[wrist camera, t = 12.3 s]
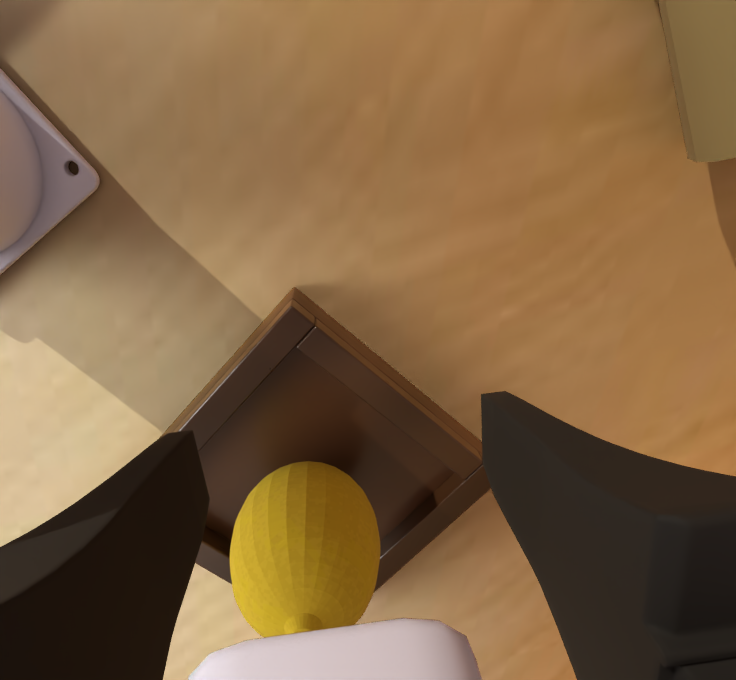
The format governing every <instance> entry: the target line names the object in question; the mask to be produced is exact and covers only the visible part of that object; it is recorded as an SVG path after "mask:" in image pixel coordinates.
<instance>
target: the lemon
mask: <svg viewBox="0 0 736 680" xmlns="http://www.w3.org/2000/svg"><path fill="white" fill-rule="evenodd" d="M379 562H380V537H379V531H378V526H377V520H376V516H375V513H374V510H373V508H372V506H371V504H370V502H369V500H368V498H367V496H366V494H365V493H364V491H363V489H362V488H361V487H360V486H359V485H358V484H357V483H356V482H355V481H354V480H353V479H352V478H351V477H350V476H349V475H348V474H346V473H344V472H343V471H341V470H340V469H338V468H336V467H334V466H331V465H328V464H325V463H321V462H311V461H305V462H296V463H292V464H289V465H286V466H283V467H280V468H279V469H277V470H275V471H274V472H272V473H270V474H269V475H267V476H266V477H264V478H263V479H262V480H261V481H260V482H259V483H258V485H257V486H256V487H255V488H254V489H253V490H252V491H251V492H250V494H249V495H248V497H247V499H246V500H245V502H244V504H243V506H242V508H241V510H240V512H239V514H238V516H237V519H236V521H235V525H234V529H233V535H232V540H231V547H230V572H231V580H232V587H233V592H234V597H235V599H236V602H237V605H238V607H239V609H240V611H241V612H242V614H243V616H244V618H245V619H246V621H247V622H248V623H249V624H250V625H251V626H252V628H253V629H254V630H255V631H256V632H257V633H259V634H260V635H261V636H263V637H264V638H265V637H272V636H279V635H286V634H293V633H300V632H307V631H314V630H321V629H328V628H336V627H343V626H350V625H355V623H356V622H357V621H358V620H359V619H360V618H361V616H362V615H363V613H364V612H365V610H366V608H367V606H368V604H369V602H370V600H371V597H372V595H373V592H374V589H375V585H376V581H377V575H378V568H379Z"/></svg>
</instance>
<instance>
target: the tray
mask: <svg viewBox="0 0 736 680" xmlns="http://www.w3.org/2000/svg"><path fill="white" fill-rule="evenodd" d="M188 430H193V433H194V437H195V441H196V445H197V449H198V453H199V457H200V461H201V465H202V469H203V473H204V477H205V481H206V485H207V489H208V493H209V497H210V501H209V507H208V514H207V520H206V525H205V531H204V536H203V539H202V542H201V545H200V549H199V552H198V555H197V558H196V561H195V563H196V564H198V565H200V566H201V567H203V568H205V569H207V570H208V571H210V572H212V573H213V574H215V575H217V576H219V577H220V578H222V579H224V580H225V581H227V582H229V583H231V584H232V580H231V572H230V547H231V540H232V535H233V529H234V525H235V521H236V519H237V516H238V514H239V512H240V510H241V508H242V506H243V504H244V502H245V500H246V499H247V497H248V495H249V494H250V492H251V491H252V490H253V489H254V488H255V487H256V486H257V485H258V483H259V482H260V481H261V480H262V479H263V478H264V477H266V476H267V475H269V474H270V473H272V472H274V471H275V470H277V469H279V468H280V467H283V466H286V465H289V464H292V463H296V462H305V461H311V462H321V463H325V464H328V465H331V466H334V467H336V468H338V469H340V470H341V471H343V472H344V473H346V474H348V475H349V476H350V477H351V478H352V479H353V480H354V481H355V482H356V483H357V484H358V485H359V486H360V487H361V488H362V489H363V491H364V493H365V494H366V496H367V498H368V500H369V502H370V504H371V506H372V508H373V510H374V513H375V516H376V520H377V526H378V531H379V537H380V562H379V568H378V575H377V581H376V585H375V589H374V592H375V591H376V590H377V589H378V588H379V587H381V586H382V585H383V584H384V583H385V582H386V581H387V580H388V579H390V578H391V577H392V576H393V575H394V574H395V573H396V572H397V571H399V570H400V569H401V568H402V567H403V566H404V565H405V564H406V563H407V562H409V561H410V560H411V559H412V558H413V557H414V556H415V555H416V554H418V553H419V552H420V551H421V550H422V549H423V548H424V547H425V546H427V545H428V544H429V543H430V542H431V541H432V540H433V539H434V538H435V537H437V536H438V535H439V534H440V533H441V532H442V531H443V530H444V529H446V528H447V527H448V526H449V525H450V524H451V523H452V522H453V521H455V520H456V519H457V518H458V517H459V516H460V515H461V514H462V513H463V512H465V511H466V510H467V509H468V508H469V507H470V506H471V505H472V504H474V503H475V502H476V501H477V500H478V499H479V498H480V497H481V496H483V495H484V494H485V493H486V492H487V491H488V490H489V489H490V488H491V486H490V483H489V480H488V478H487V475H486V472H485V469H484V466H483V462H482V442H481V441H480V440H479V439H478V438H476V437H475V436H474V435H473V434H472V433H470V432H469V431H468V430H467V429H465V428H464V427H463V426H462V425H461V424H459V423H458V422H457V421H456V420H455V419H453V418H452V417H451V416H450V415H449V414H447V413H446V412H445V411H444V410H443V409H441V408H440V407H439V406H438V405H437V404H435V403H434V402H433V401H432V400H431V399H429V398H428V397H427V396H426V395H425V394H423V393H422V392H421V391H420V390H419V389H417V388H416V387H415V386H414V385H413V384H411V383H410V382H409V381H408V380H407V379H405V378H404V377H403V376H402V375H401V374H399V373H398V372H397V371H396V370H395V369H393V368H392V367H391V366H390V365H389V364H387V363H386V362H385V361H384V360H382V359H381V358H380V357H379V356H378V355H376V354H375V353H374V352H373V351H372V350H370V349H369V348H368V347H367V346H366V345H364V344H363V343H362V342H361V341H360V340H358V339H357V338H356V337H355V336H354V335H352V334H351V333H350V332H349V331H348V330H346V329H345V328H344V327H343V326H342V325H340V324H339V323H338V322H337V321H336V320H334V319H333V318H332V317H331V316H330V315H328V314H327V313H326V312H325V311H324V310H322V309H321V308H320V307H319V306H318V305H316V304H315V303H314V302H313V301H312V300H310V299H309V298H308V297H307V296H305V295H304V294H303V293H302V292H301V291H299V290H298V289H297V288H296V287H294V288H292V290H291V291H290V292H289V293H288V294H287V295H286V296H285V297H284V299H283V300H282V301H281V302H280V303H279V304H278V305H277V306H276V308H275V309H274V310H273V311H272V312H271V313H270V314H269V315H268V317H267V318H266V319H265V320H264V321H263V322H262V323H261V324H260V326H259V327H258V328H257V329H256V330H255V331H254V332H253V333H252V335H251V336H250V337H249V338H248V339H247V340H246V341H245V342H244V344H243V345H242V346H241V347H240V348H239V349H238V350H237V351H236V353H235V354H234V355H233V356H232V357H231V358H230V359H229V360H228V362H227V363H226V364H225V365H224V366H223V367H222V368H221V369H220V371H219V372H218V373H217V374H216V375H215V376H214V377H213V378H212V380H211V381H210V382H209V383H208V384H207V385H206V386H205V387H204V389H203V390H202V391H201V392H200V393H199V394H198V395H197V396H196V398H195V399H194V400H193V401H192V402H191V403H190V404H189V405H188V407H187V408H186V409H185V410H184V411H183V412H182V413H181V414H180V416H179V417H178V418H177V419H176V420H175V421H174V422H173V423H172V425H171V426H170V427H169V428H168V429H167V430H166V431H165V432H164V434H163V435H162V436H164V435H166V434H167V433H172V432H180V431H188ZM162 436H161V437H162ZM161 437H160V438H161ZM160 438H159V439H160ZM374 592H373V593H374Z"/></svg>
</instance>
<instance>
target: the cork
mask: <svg viewBox="0 0 736 680" xmlns="http://www.w3.org/2000/svg"><path fill="white" fill-rule="evenodd" d="M658 2H659V7H660V13H661V18H662V23H663V29H664V34H665V39H666V45H667V50H668V55H669V61H670V66H671V72H672V77H673V82H674V88H675V93H676V98H677V104H678V109H679V114H680V120H681V125H682V130H683V136H684V141H685V146H686V152H687V157H688V159H690V160H693V161H695V162H717V161H722V160H727V159H732V158H736V0H658Z"/></svg>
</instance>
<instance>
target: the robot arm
mask: <svg viewBox="0 0 736 680" xmlns="http://www.w3.org/2000/svg"><path fill="white" fill-rule="evenodd" d="M71 161H73V162H75V163H76V164H77V165H78V167H79V172H78V174H77V175H74V174H73V173H71V172H70V170H69V166H68V165H69V163H70V162H71ZM99 183H100V179H99V175H98V174H97V172H96V171H95V169H94V168H93V167H92V166H91V165H90V164H89V163H88V162H87V161H86V160H85V159H84V158H83V157H82V156H81V154H80V153H79V152H78V151H77V150H76V149H75V148H74V147H73V146H72V145H71V144H70V143H69V142H68V140H67V139H66V138H65V137H64V136H63V135H62V134H61V133H60V132H59V131H58V130H57V129H56V128H55V126H54V125H53V124H52V123H51V122H50V121H49V120H48V119H47V118H46V117H45V116H44V115H43V114H42V113H41V111H40V110H39V109H38V108H37V107H36V106H35V105H34V104H33V103H32V102H31V101H30V100H29V99H28V97H27V96H26V95H25V94H24V93H23V92H22V91H21V90H20V89H19V88H18V87H17V86H16V85H15V84H14V82H13V81H12V80H11V79H10V78H9V77H8V76H7V75H6V74H5V73H4V72H3V71H2V70H1V68H0V275H1V274H2V273H3V272H4V271H5V270H6V269H8V268H9V267H10V266H11V265H12V264H13V263H14V262H15V261H17V260H18V259H19V258H20V257H21V256H22V255H23V254H24V253H26V252H27V251H28V250H29V249H30V248H31V247H32V246H33V245H35V244H36V243H37V242H38V241H39V240H40V239H41V238H42V237H44V236H45V235H46V234H47V233H48V232H49V231H50V230H51V229H53V228H54V227H55V226H56V225H57V224H58V223H59V222H60V221H62V220H63V219H64V218H65V217H66V216H67V215H68V214H69V213H71V212H72V211H73V210H74V209H75V208H76V207H77V206H78V205H80V204H81V203H82V202H83V201H84V200H85V199H86V198H88V197H89V196H90V195H91V194H92V193H93V192H94V191H95V190H96V189H97V188H98V186H99ZM481 410H482V462H483V466H484V469H485V472H486V475H487V478H488V480H489V483H490V486H491V489H492V491H493V494H494V496H495V498H496V500H497V502H498V504H499V506H500V508H501V510H502V512H503V514H504V516H505V518H506V520H507V522H508V523H509V525H510V527H511V529H512V531H513V533H514V535H515V537H516V538H517V540H518V542H519V544H520V546H521V548H522V550H523V552H524V553H525V555H526V557H527V559H528V561H529V563H530V565H531V567H532V568H533V570H534V573H535V575H536V577H537V579H538V581H539V583H540V585H541V587H542V590H543V592H544V595H545V597H546V600H547V602H548V605H549V607H550V610H551V612H552V615H553V617H554V620H555V622H556V625H557V627H558V630H559V633H560V635H561V638H562V640H563V643H564V646H565V648H566V651H567V654H568V656H569V659H570V661H571V664H572V667H573V669H574V672H575V675H576V678H577V680H736V477H735V476H730V475H725V474H719V473H714V472H709V471H704V470H700V469H695V468H691V467H686V466H682V465H679V464H675V463H671V462H668V461H664V460H660V459H657V458H653V457H650V456H647V455H643V454H640V453H637V452H634V451H631V450H629V449H626V448H623V447H620V446H618V445H615V444H612V443H610V442H607V441H605V440H602V439H600V438H597V437H595V436H593V435H591V434H588V433H586V432H584V431H582V430H580V429H577V428H575V427H573V426H571V425H569V424H567V423H565V422H563V421H561V420H559V419H557V418H555V417H553V416H552V415H550V414H548V413H546V412H544V411H542V410H540V409H539V408H537V407H535V406H533V405H531V404H529V403H528V402H526V401H524V400H522V399H520V398H518V397H516V396H514V395H512V394H510V393H508V392H506V391H503V392H495V393H487V394H481ZM209 501H210V497H209V493H208V489H207V485H206V481H205V477H204V473H203V469H202V465H201V461H200V457H199V453H198V449H197V445H196V441H195V437H194V433H193V430H188V431H180V432H172V433H167V434H166V435H164V436H162V437H161V438H160V439H158V440H157V441H156V442H154V443H153V444H152V445H150V446H149V447H148V448H147V449H145V450H144V451H143V452H142V453H140V454H139V455H138V456H137V457H135V458H134V459H133V460H132V461H130V462H129V463H128V464H126V465H125V466H124V467H123V468H121V469H120V470H119V471H118V472H116V473H115V474H114V475H113V476H111V477H110V478H109V479H107V480H106V481H105V482H103V483H102V484H101V485H99V486H98V487H96V488H95V489H94V490H92V491H91V492H90V493H88V494H87V495H85V496H84V497H83V498H81V499H80V500H79V501H77V502H76V503H74V504H73V505H71V506H70V507H68V508H67V509H65V510H64V511H62V512H61V513H59V514H58V515H56V516H55V517H53V518H51V519H50V520H48V521H46V522H45V523H43V524H41V525H40V526H38V527H37V528H35V529H33V530H31V531H30V532H28V533H26V534H24V535H22V536H21V537H19V538H17V539H15V540H13V541H11V542H9V543H7V544H6V545H4V546H2V547H0V680H163V675H164V671H165V666H166V661H167V656H168V652H169V647H170V642H171V638H172V634H173V631H174V627H175V623H176V620H177V617H178V613H179V610H180V607H181V604H182V601H183V598H184V595H185V592H186V589H187V586H188V583H189V580H190V577H191V574H192V571H193V567H194V564H195V561H196V558H197V555H198V552H199V549H200V545H201V542H202V539H203V536H204V531H205V525H206V520H207V514H208V507H209ZM188 680H482V678H481V675H480V671H479V668H478V665H477V661H476V658H475V656H474V654H473V651H472V649H471V647H470V644H469V642H468V640H467V637H466V636H465V635H463V634H461V633H460V632H458V631H456V630H455V629H453V628H451V627H449V626H448V625H446V624H444V623H442V622H441V621H438V620H429V619H412V618H399V619H392V620H385V621H378V622H371V623H364V624H357V625H350V626H343V627H336V628H328V629H321V630H314V631H307V632H300V633H293V634H286V635H279V636H272V637H265V638H258V639H250V640H246V641H243V642H240V643H237V644H234V645H231V646H228V647H226V648H223V649H220V650H217V651H215V652H212V653H210V654H209V655H208V656H207V657H206V658H205V659H204V660H203V661H202V662H201V663H200V665H199V666H198V667H197V668H196V669H195V670H194V671H193V672H192V673H191V674H190V675H189V677H188Z"/></svg>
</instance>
